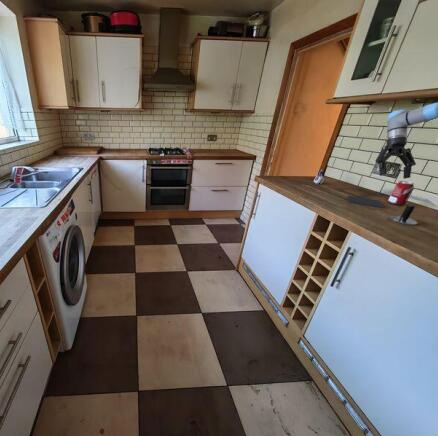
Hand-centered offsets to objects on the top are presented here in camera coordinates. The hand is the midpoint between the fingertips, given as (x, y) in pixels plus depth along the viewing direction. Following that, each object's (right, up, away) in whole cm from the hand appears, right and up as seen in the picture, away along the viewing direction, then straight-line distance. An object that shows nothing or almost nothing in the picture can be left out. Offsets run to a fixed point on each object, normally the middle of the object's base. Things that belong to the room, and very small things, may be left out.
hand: (394, 176), depth 124 cm
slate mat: (-15, -14, +2) cm, 20 cm away
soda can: (+2, -15, +1) cm, 15 cm away
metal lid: (-18, -24, -20) cm, 36 cm away
